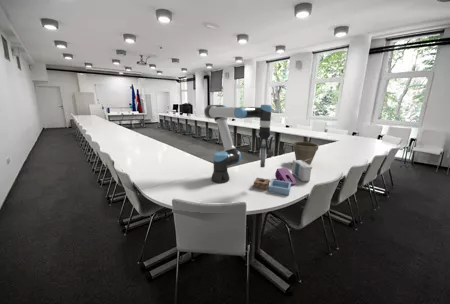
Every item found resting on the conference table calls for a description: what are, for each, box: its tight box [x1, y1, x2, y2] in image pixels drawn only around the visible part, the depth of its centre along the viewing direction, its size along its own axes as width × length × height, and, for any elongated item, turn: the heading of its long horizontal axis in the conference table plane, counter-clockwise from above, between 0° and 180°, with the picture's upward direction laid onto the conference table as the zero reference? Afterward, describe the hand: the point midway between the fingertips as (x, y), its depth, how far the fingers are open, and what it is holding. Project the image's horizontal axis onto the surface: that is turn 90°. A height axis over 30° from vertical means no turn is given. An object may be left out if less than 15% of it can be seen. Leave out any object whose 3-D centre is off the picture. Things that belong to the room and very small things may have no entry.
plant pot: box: [292, 141, 320, 166], centre depth 212 cm, size 25×25×22 cm
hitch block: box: [253, 177, 270, 191], centre depth 153 cm, size 10×10×5 cm
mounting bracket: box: [274, 167, 296, 186], centre depth 165 cm, size 9×8×18 cm
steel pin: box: [259, 143, 266, 169], centre depth 148 cm, size 5×5×18 cm
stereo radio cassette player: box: [291, 159, 313, 182], centre depth 172 cm, size 21×8×20 cm, turn 5°
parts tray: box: [268, 179, 292, 196], centre depth 148 cm, size 14×14×4 cm
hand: (262, 157), depth 148 cm, fingers closed on steel pin, 3 cm apart
